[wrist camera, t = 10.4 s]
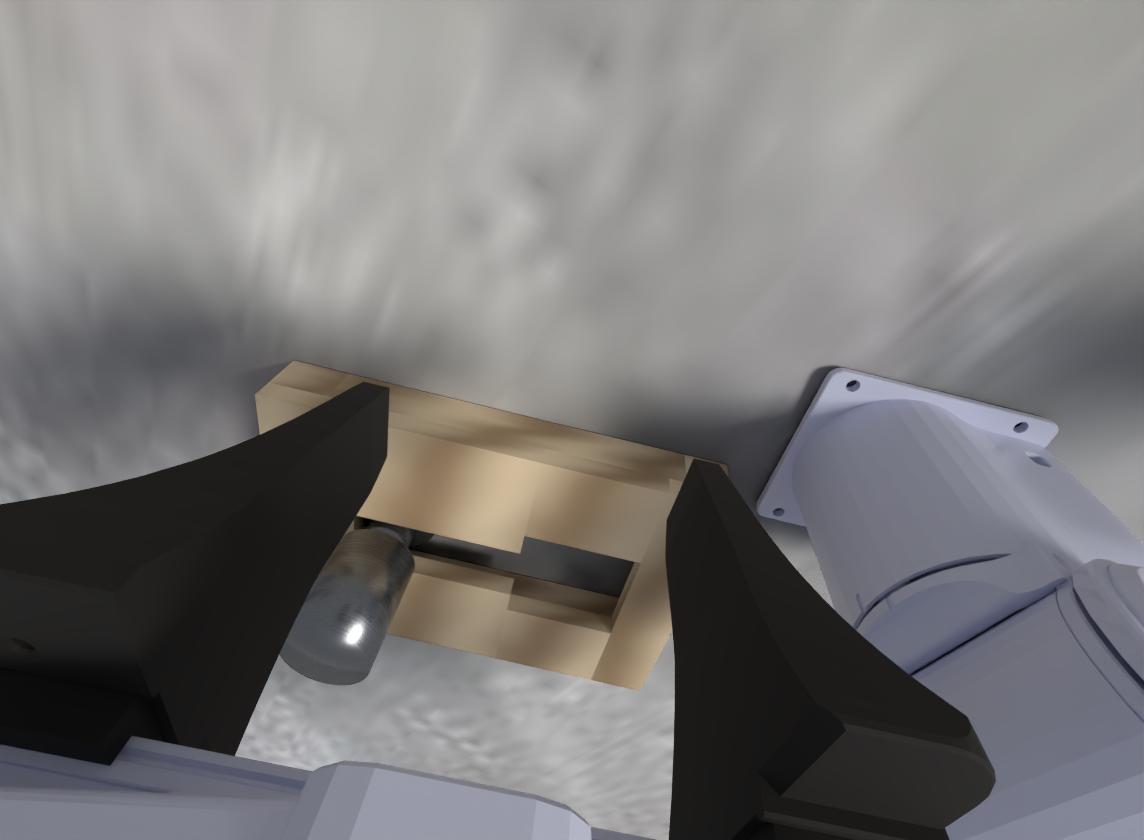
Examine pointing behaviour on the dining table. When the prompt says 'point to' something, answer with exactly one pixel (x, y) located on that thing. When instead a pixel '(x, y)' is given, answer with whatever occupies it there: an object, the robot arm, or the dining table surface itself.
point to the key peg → (352, 604)
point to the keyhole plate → (514, 526)
